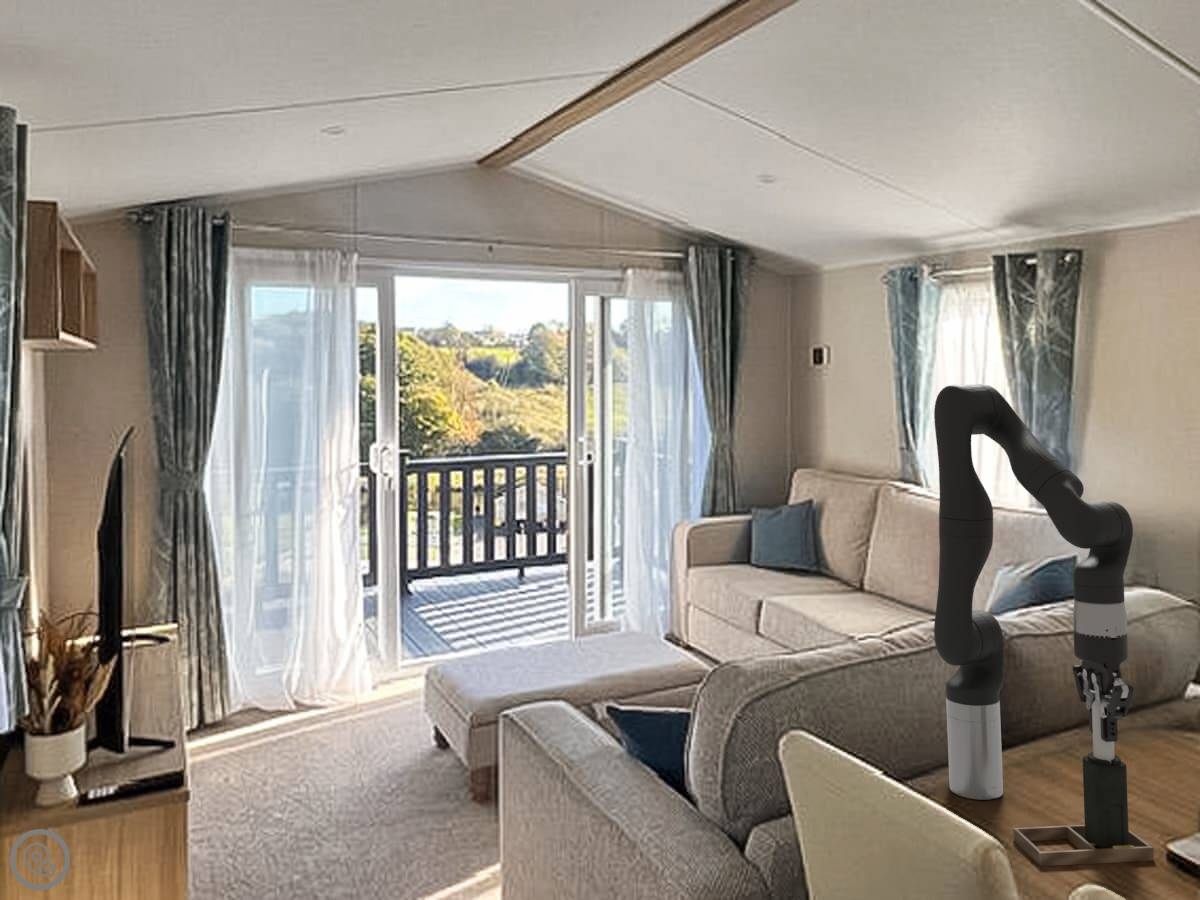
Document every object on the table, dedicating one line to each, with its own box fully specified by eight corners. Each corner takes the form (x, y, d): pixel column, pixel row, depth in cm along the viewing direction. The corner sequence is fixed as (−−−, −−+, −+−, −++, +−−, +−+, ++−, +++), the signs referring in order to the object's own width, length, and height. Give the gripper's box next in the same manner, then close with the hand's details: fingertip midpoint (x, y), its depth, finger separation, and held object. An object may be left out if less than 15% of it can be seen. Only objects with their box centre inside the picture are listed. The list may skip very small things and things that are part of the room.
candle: (1113, 832, 149) (1107, 678, 148) (1132, 846, 143) (1126, 687, 143) (1082, 834, 148) (1076, 680, 148) (1100, 848, 143) (1094, 689, 143)
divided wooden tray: (1040, 866, 141) (1040, 851, 141) (1013, 840, 150) (1013, 826, 150) (1154, 860, 141) (1153, 845, 141) (1120, 834, 150) (1119, 820, 150)
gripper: (1054, 620, 152) (1057, 724, 152) (1100, 639, 138) (1104, 754, 138) (1099, 618, 152) (1102, 722, 153) (1150, 637, 138) (1154, 751, 139)
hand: (1103, 736), depth 145 cm, fingers closed on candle, 2 cm apart
